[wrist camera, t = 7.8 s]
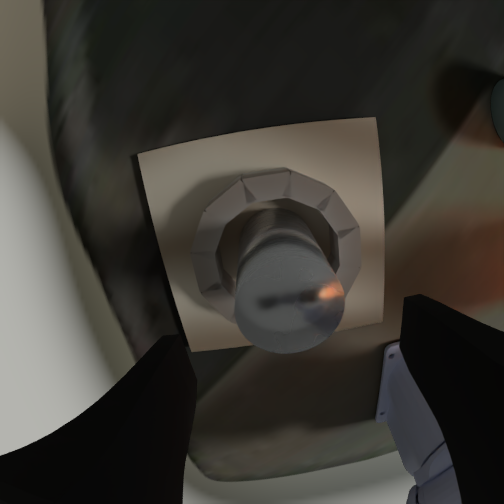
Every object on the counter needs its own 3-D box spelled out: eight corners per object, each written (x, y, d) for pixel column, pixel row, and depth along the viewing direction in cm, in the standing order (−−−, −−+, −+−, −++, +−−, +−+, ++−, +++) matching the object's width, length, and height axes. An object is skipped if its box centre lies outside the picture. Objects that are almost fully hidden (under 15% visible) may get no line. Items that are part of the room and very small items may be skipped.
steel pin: (310, 272, 18) (340, 347, 12) (242, 277, 18) (239, 356, 12) (310, 205, 17) (348, 254, 10) (236, 210, 17) (228, 263, 10)
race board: (379, 316, 20) (393, 338, 18) (192, 346, 21) (187, 371, 19) (371, 117, 16) (390, 116, 13) (140, 153, 16) (123, 157, 14)
